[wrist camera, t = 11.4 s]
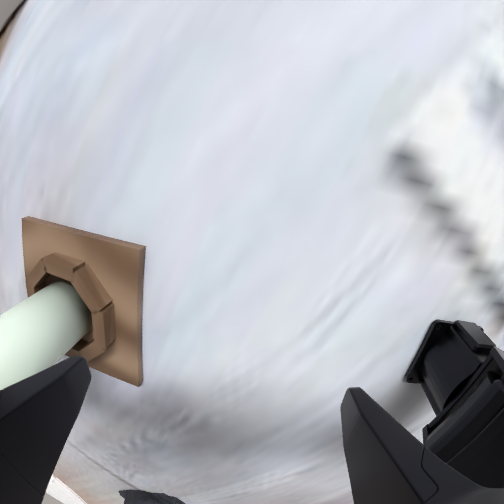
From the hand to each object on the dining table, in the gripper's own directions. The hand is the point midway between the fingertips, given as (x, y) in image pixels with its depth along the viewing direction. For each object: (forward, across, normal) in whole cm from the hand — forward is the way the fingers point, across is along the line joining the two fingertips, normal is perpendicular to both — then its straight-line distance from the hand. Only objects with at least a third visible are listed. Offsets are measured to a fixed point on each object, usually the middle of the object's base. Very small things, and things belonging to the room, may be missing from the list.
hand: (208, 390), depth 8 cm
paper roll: (+13, +15, +6) cm, 21 cm away
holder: (+14, +15, +6) cm, 21 cm away
